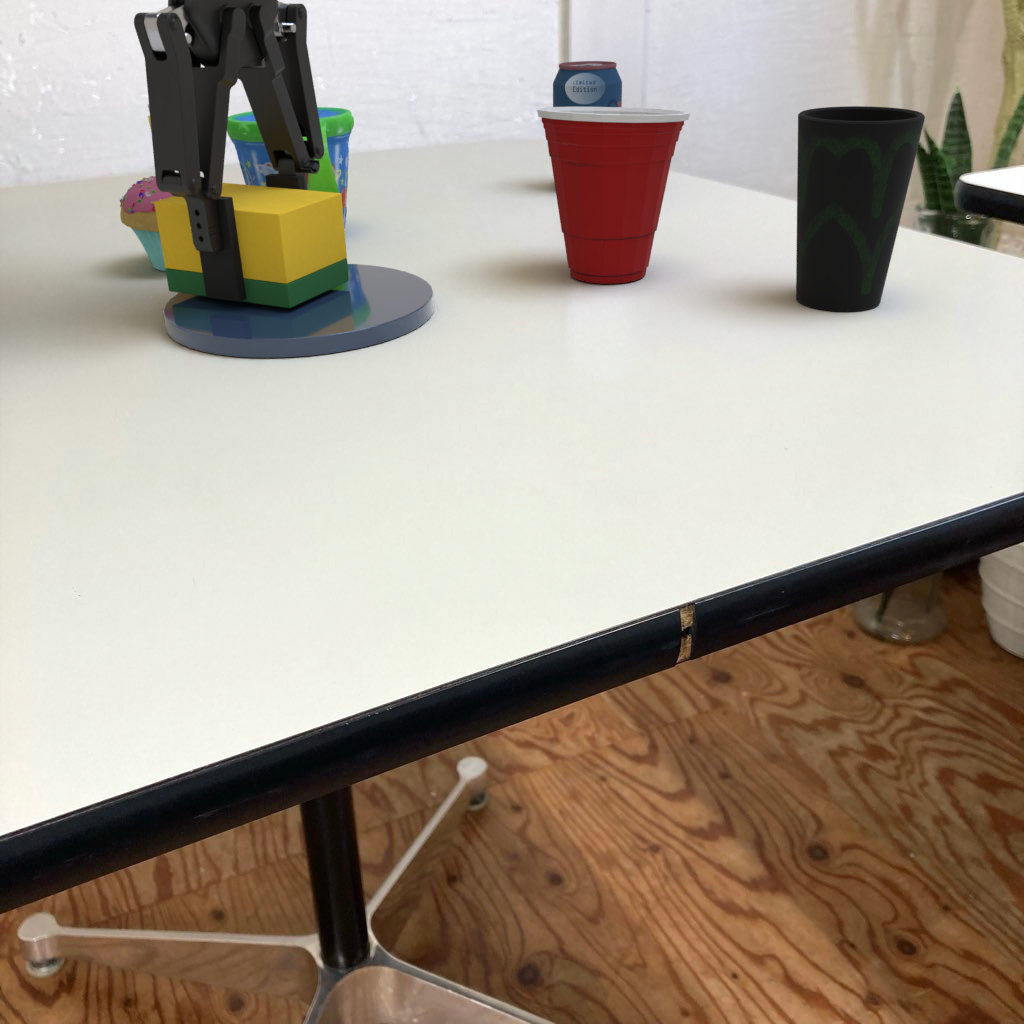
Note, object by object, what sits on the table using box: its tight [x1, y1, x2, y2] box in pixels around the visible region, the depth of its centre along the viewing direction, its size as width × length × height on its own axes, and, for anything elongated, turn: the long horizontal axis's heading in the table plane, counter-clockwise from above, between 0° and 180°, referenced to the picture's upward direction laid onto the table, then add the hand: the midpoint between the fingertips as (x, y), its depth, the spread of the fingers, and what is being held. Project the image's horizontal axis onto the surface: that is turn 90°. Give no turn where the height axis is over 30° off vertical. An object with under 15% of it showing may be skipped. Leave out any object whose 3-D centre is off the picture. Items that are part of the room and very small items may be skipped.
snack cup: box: [227, 106, 355, 230], centre depth 90 cm, size 16×10×10 cm
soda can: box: [552, 60, 623, 107], centre depth 106 cm, size 7×7×12 cm
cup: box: [795, 105, 926, 313], centre depth 68 cm, size 8×8×12 cm
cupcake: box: [119, 103, 173, 272], centre depth 81 cm, size 9×8×12 cm
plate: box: [162, 263, 435, 359], centre depth 71 cm, size 18×18×1 cm
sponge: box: [154, 182, 349, 308], centre depth 70 cm, size 10×7×6 cm
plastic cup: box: [536, 106, 691, 285], centre depth 76 cm, size 11×11×12 cm
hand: (262, 282), depth 72 cm, fingers closed on sponge, 7 cm apart
